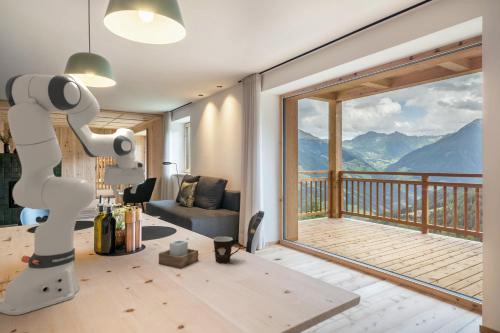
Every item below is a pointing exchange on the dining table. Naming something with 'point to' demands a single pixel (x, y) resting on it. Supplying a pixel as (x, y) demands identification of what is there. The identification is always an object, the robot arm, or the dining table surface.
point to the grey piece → (179, 248)
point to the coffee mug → (223, 249)
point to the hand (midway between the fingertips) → (124, 194)
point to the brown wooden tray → (178, 259)
